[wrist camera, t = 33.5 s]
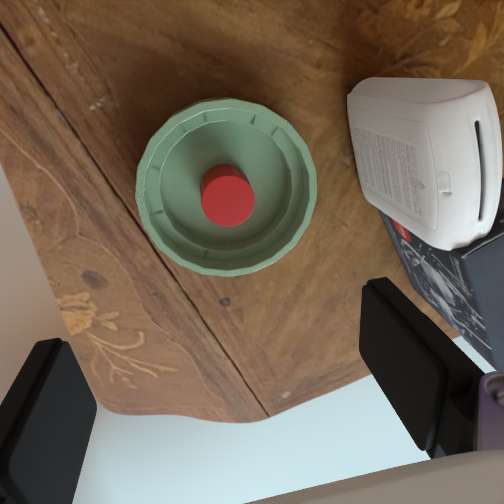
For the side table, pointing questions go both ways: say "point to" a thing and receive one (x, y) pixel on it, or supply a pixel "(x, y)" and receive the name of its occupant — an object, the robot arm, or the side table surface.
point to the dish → (251, 164)
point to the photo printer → (429, 155)
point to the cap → (226, 195)
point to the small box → (461, 283)
